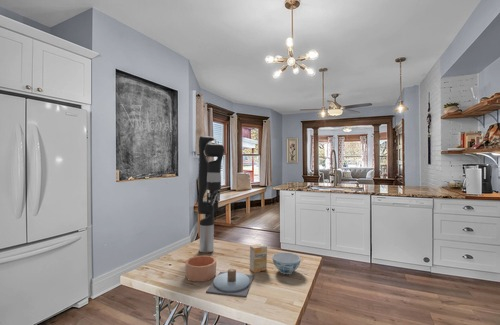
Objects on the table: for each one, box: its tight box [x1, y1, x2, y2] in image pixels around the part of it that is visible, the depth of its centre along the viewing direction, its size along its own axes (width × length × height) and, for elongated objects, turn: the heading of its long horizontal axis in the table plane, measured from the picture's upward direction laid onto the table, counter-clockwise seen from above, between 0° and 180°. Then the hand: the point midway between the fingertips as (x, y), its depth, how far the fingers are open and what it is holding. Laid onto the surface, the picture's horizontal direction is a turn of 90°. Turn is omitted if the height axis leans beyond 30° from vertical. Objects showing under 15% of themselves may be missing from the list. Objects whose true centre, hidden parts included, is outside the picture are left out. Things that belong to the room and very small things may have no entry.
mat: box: [206, 271, 255, 298], centre depth 115 cm, size 20×18×1 cm
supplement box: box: [249, 243, 268, 273], centre depth 131 cm, size 8×5×13 cm, turn 117°
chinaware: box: [272, 251, 302, 275], centre depth 129 cm, size 15×15×8 cm
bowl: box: [185, 255, 217, 283], centre depth 124 cm, size 15×15×7 cm
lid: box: [213, 268, 249, 292], centre depth 115 cm, size 17×17×6 cm
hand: (213, 211), depth 130 cm, fingers open, 8 cm apart
